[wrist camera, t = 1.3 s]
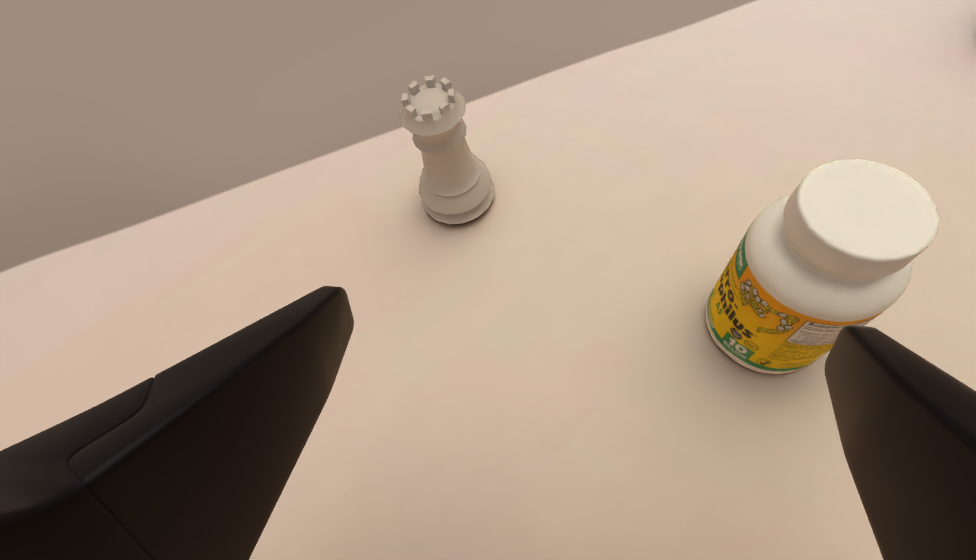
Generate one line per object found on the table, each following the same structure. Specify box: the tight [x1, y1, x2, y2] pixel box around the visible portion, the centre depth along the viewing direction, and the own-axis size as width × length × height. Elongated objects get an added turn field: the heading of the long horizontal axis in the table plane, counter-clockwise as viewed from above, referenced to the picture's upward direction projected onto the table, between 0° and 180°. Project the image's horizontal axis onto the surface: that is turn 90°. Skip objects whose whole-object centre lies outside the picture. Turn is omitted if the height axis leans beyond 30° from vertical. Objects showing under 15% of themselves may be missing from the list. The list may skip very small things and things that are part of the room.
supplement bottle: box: [705, 159, 939, 374], centre depth 20 cm, size 5×5×10 cm
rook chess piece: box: [400, 76, 494, 224], centre depth 26 cm, size 4×4×8 cm
